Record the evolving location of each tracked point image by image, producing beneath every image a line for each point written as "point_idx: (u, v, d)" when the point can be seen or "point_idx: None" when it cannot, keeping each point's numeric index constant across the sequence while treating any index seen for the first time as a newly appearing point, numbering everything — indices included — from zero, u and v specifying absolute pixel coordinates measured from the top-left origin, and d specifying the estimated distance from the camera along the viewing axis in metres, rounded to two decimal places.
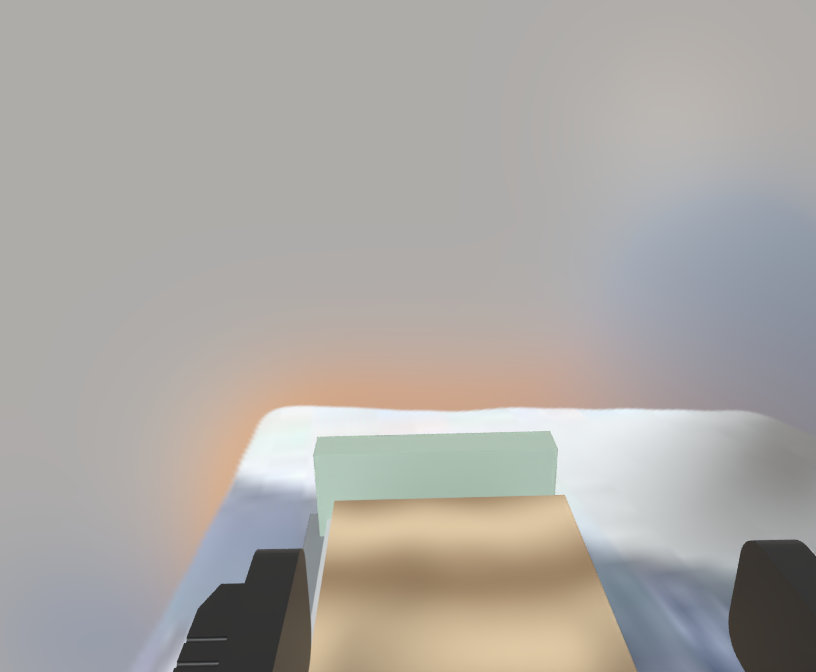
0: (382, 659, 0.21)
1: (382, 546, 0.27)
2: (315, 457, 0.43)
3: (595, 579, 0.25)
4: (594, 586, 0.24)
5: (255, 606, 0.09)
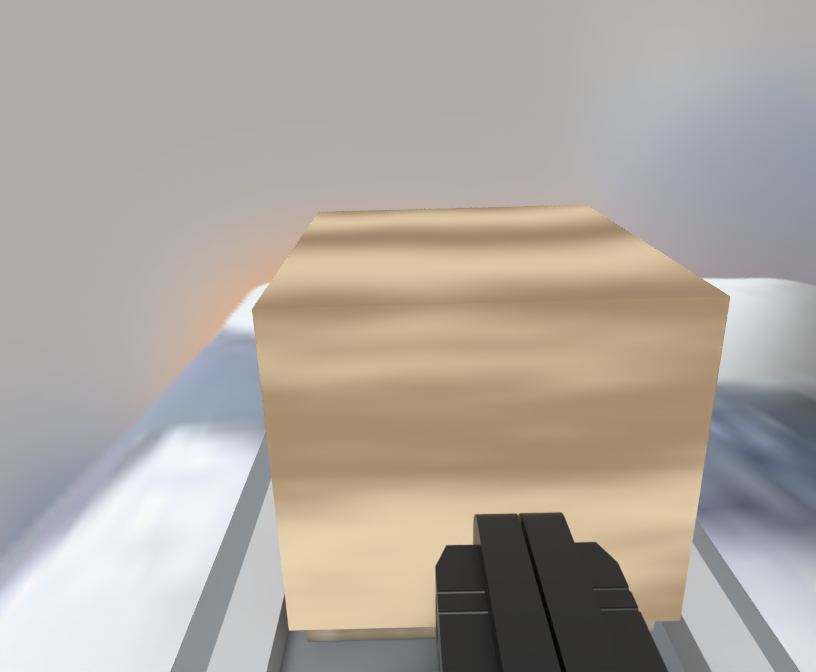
0: (368, 269, 0.17)
1: (372, 226, 0.22)
2: None
3: (627, 234, 0.20)
4: (626, 237, 0.20)
5: (501, 561, 0.10)
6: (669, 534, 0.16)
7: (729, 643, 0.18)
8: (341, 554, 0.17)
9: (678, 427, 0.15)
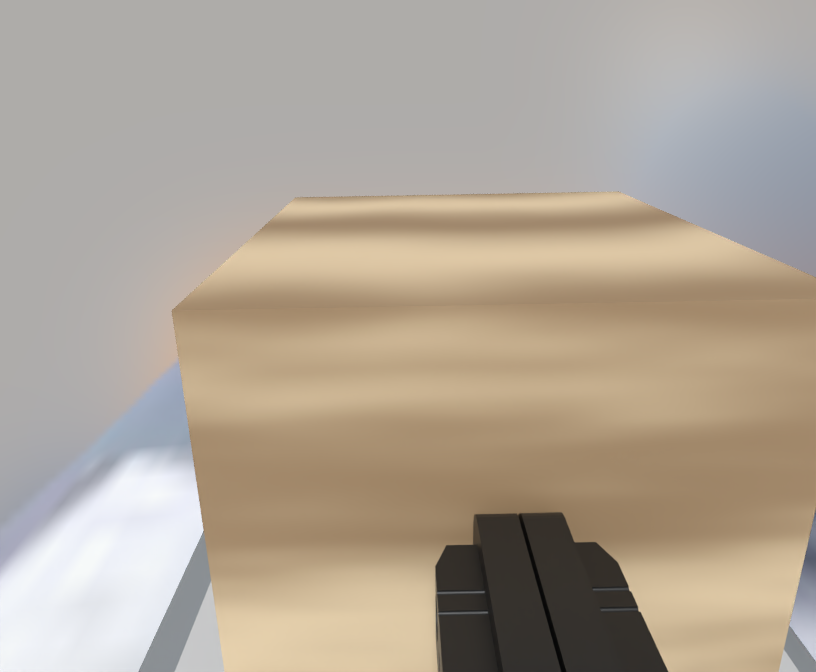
0: (346, 260, 0.13)
1: (358, 213, 0.18)
2: None
3: (681, 221, 0.16)
4: (681, 224, 0.16)
5: (501, 562, 0.10)
6: (755, 626, 0.12)
7: None
8: (304, 649, 0.12)
9: (777, 481, 0.11)
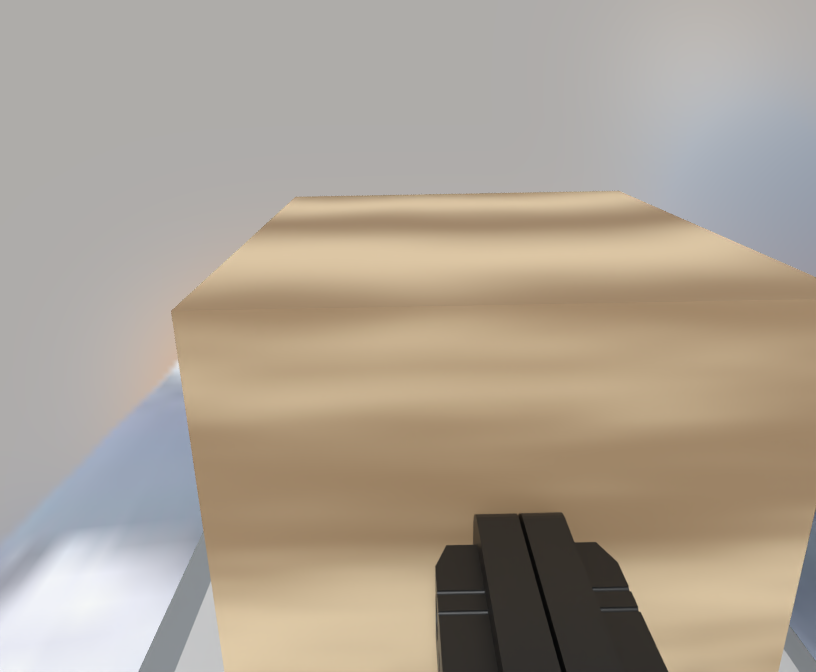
0: (345, 260, 0.13)
1: (358, 212, 0.18)
2: None
3: (681, 221, 0.16)
4: (682, 224, 0.16)
5: (501, 562, 0.10)
6: (755, 626, 0.12)
7: None
8: (304, 649, 0.12)
9: (776, 482, 0.11)
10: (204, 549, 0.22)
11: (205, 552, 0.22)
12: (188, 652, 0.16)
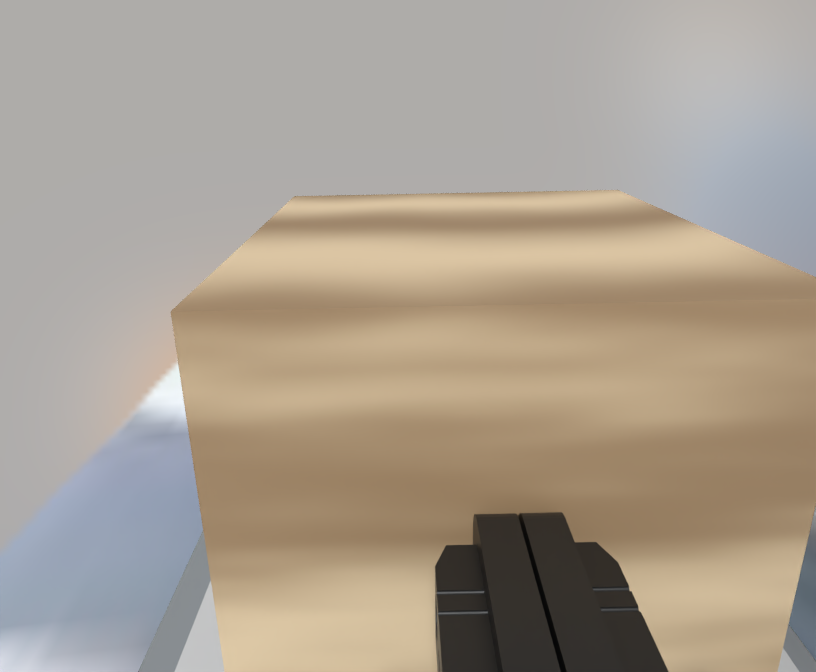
0: (345, 260, 0.13)
1: (357, 211, 0.18)
2: None
3: (681, 220, 0.16)
4: (681, 223, 0.16)
5: (501, 561, 0.10)
6: (755, 625, 0.12)
7: None
8: (305, 649, 0.12)
9: (777, 481, 0.11)
10: None
11: None
12: None
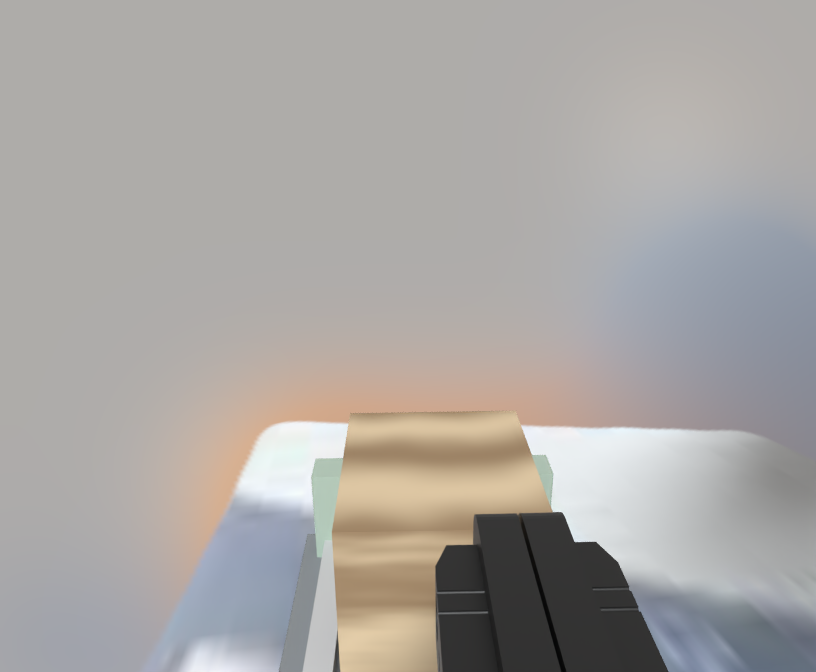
0: (385, 493, 0.33)
1: (384, 438, 0.38)
2: (313, 480, 0.43)
3: (529, 455, 0.36)
4: (527, 459, 0.36)
5: (501, 562, 0.10)
6: None
7: None
8: (369, 643, 0.32)
9: None
10: (287, 658, 0.37)
11: (288, 660, 0.37)
12: None
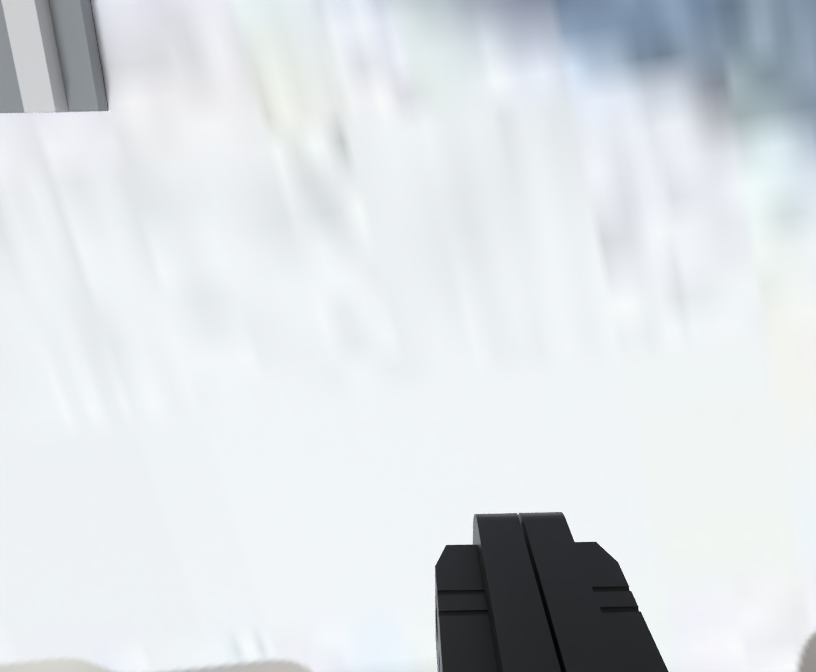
0: None
1: None
2: None
3: None
4: None
5: (501, 561, 0.10)
6: None
7: (28, 47, 0.33)
8: None
9: None
10: None
11: None
12: None
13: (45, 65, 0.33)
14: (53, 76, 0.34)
